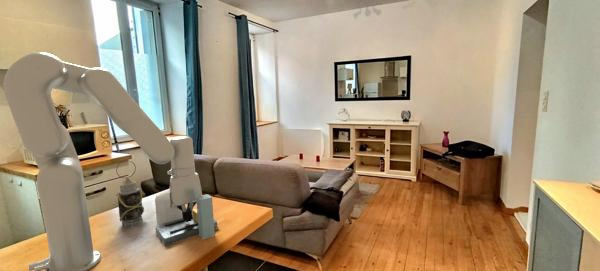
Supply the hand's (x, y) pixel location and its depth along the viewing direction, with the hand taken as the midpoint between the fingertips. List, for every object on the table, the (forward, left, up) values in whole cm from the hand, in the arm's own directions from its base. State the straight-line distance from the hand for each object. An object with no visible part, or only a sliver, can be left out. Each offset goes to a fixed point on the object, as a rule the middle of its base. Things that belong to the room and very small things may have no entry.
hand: (187, 220), depth 100 cm
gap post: (+4, -9, -4) cm, 10 cm away
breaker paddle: (+4, 0, -1) cm, 4 cm away
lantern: (-14, +20, -4) cm, 25 cm away
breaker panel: (0, 0, -4) cm, 4 cm away
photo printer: (-2, +12, -4) cm, 13 cm away
